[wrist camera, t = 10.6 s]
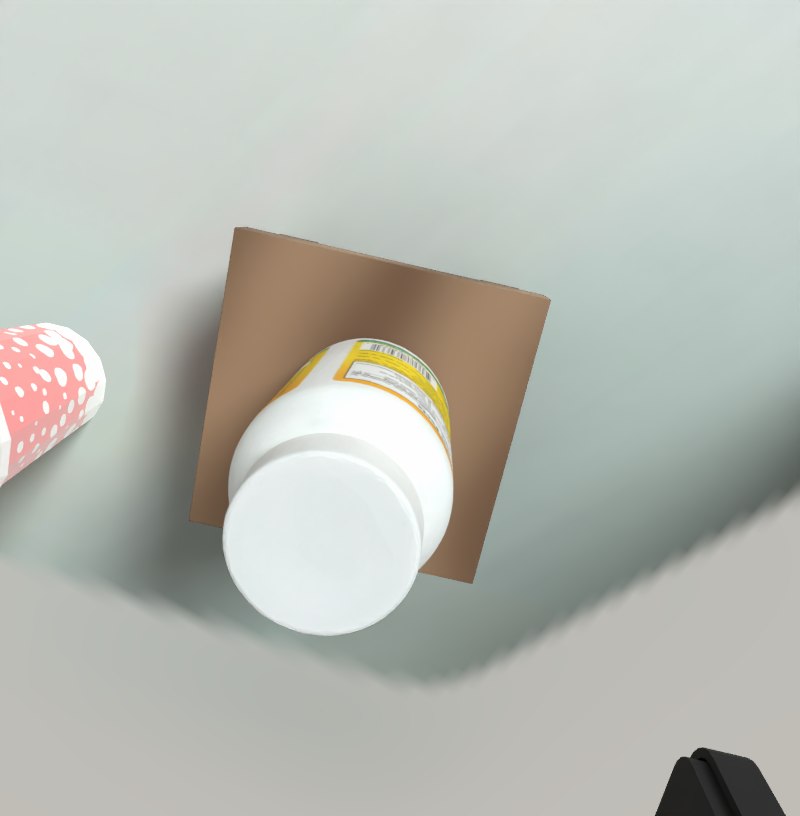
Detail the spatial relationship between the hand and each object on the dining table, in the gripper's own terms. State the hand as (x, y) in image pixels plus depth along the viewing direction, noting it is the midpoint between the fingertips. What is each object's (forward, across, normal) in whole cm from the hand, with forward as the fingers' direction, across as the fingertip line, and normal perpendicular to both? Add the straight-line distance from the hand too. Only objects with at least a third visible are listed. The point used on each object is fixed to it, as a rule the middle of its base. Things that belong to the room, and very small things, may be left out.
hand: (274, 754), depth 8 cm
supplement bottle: (+16, +1, 0) cm, 16 cm away
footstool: (+21, +1, 0) cm, 21 cm away
